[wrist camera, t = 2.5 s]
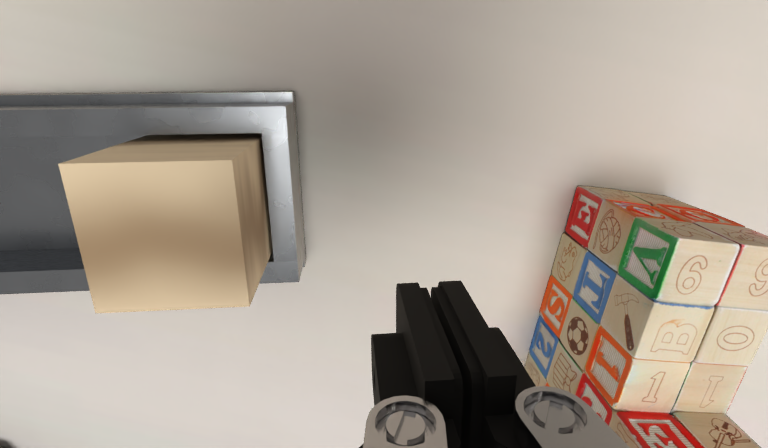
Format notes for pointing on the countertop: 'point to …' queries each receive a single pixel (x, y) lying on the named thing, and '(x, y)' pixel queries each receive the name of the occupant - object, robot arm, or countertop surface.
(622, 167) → the countertop surface
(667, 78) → the countertop surface
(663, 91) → the countertop surface
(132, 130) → the chute
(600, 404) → the stack of blocks
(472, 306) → the robot arm
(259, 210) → the block
